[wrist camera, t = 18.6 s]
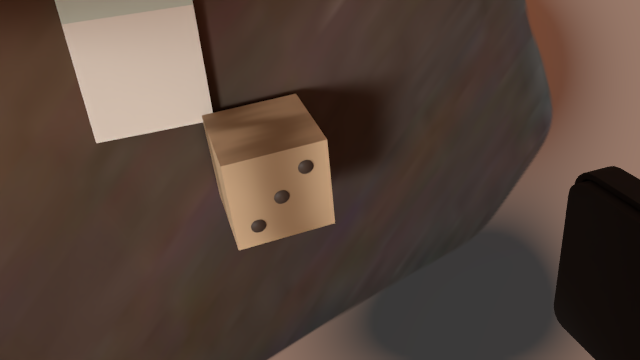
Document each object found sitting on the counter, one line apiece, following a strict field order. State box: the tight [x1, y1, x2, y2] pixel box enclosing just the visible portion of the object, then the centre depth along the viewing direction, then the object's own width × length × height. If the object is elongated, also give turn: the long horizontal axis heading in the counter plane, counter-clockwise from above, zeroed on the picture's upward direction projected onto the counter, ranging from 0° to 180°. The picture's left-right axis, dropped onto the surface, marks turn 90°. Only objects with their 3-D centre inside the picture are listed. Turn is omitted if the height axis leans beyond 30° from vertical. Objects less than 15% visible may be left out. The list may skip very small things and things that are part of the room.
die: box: [202, 94, 335, 250], centre depth 36 cm, size 6×6×6 cm
